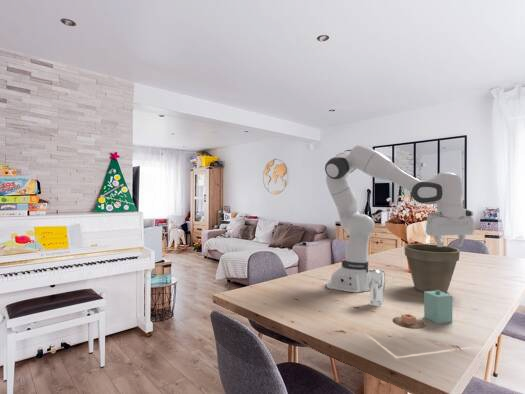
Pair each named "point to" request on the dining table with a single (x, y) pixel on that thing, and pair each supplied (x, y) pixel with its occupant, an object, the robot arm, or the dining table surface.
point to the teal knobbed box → (438, 306)
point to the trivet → (418, 324)
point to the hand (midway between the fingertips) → (449, 246)
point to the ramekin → (408, 319)
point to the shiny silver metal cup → (376, 286)
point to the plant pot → (431, 266)
